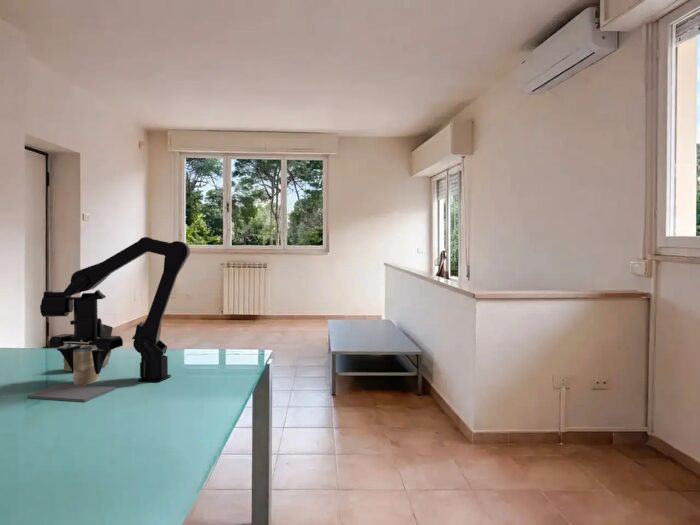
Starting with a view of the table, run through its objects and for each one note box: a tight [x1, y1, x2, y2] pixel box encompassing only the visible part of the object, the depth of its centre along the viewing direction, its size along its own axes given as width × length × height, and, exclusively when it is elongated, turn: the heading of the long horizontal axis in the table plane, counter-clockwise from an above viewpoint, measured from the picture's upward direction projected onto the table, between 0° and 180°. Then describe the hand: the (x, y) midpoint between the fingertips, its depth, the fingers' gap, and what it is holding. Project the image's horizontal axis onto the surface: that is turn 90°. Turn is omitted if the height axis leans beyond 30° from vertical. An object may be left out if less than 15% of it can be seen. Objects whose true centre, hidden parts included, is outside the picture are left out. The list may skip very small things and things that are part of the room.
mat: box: [27, 383, 116, 403], centre depth 129 cm, size 16×11×1 cm
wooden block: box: [73, 346, 100, 385], centre depth 139 cm, size 3×6×9 cm, turn 168°
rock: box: [63, 341, 112, 372], centre depth 154 cm, size 12×7×10 cm, turn 112°
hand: (86, 373), depth 139 cm, fingers open, 7 cm apart
